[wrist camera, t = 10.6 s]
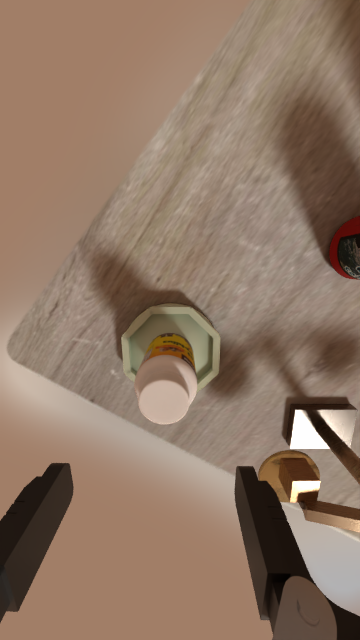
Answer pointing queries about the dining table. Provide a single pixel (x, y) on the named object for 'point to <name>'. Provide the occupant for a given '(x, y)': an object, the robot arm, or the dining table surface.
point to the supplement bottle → (166, 379)
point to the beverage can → (347, 249)
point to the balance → (300, 470)
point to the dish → (173, 321)
